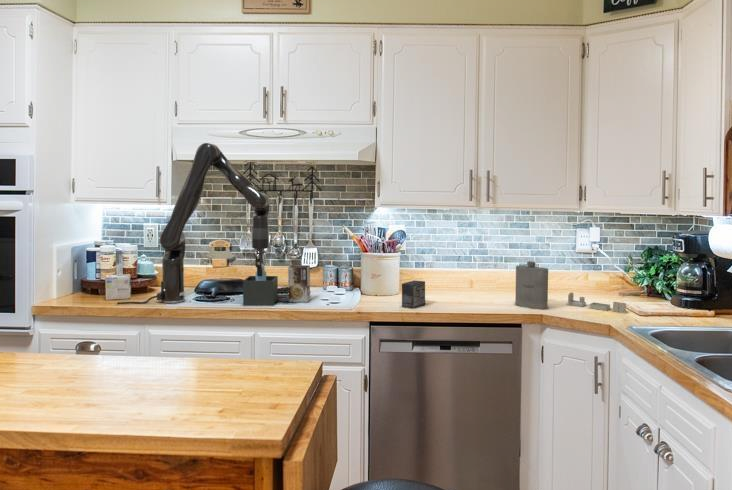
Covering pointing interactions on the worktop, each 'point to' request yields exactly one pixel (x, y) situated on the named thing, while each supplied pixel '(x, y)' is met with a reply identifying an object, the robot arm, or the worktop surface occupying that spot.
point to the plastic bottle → (263, 277)
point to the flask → (531, 286)
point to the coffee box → (299, 283)
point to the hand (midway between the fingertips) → (260, 274)
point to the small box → (413, 294)
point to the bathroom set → (597, 304)
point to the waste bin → (260, 291)
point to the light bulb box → (118, 286)
